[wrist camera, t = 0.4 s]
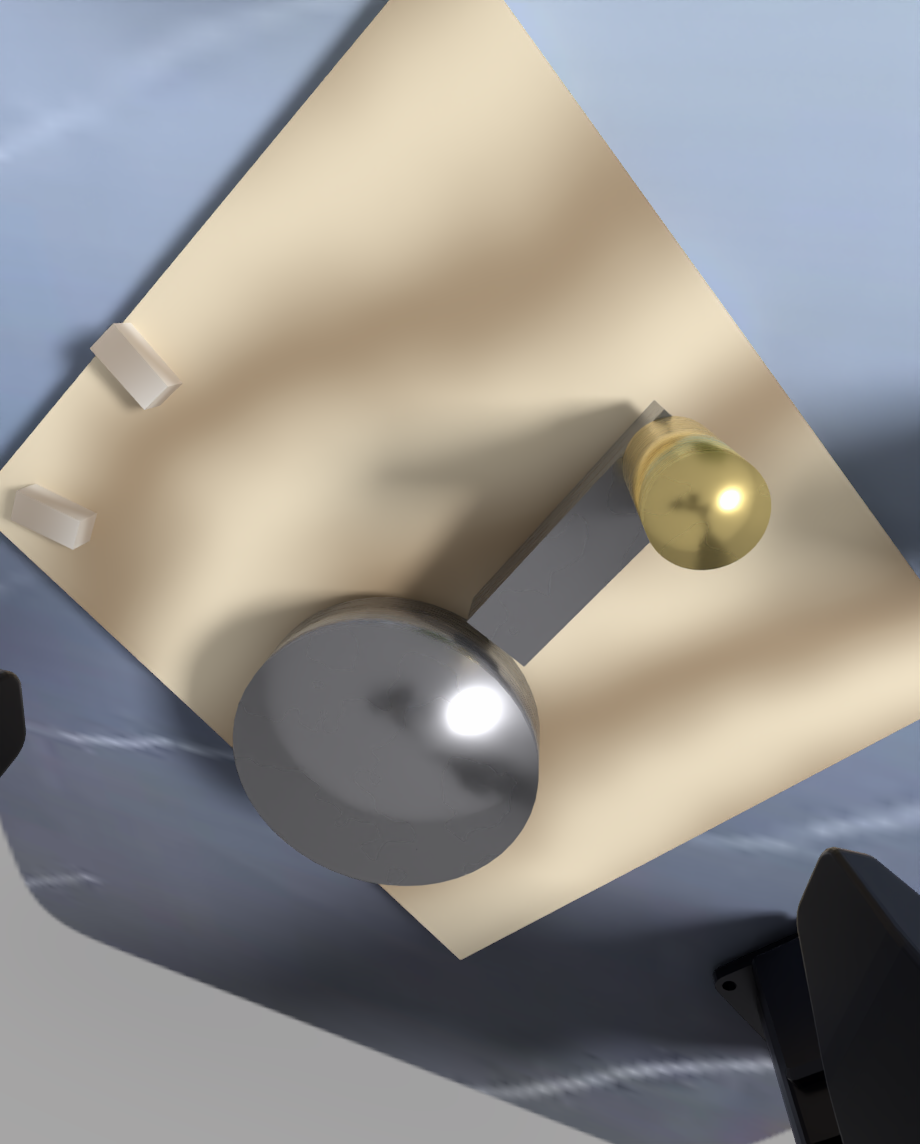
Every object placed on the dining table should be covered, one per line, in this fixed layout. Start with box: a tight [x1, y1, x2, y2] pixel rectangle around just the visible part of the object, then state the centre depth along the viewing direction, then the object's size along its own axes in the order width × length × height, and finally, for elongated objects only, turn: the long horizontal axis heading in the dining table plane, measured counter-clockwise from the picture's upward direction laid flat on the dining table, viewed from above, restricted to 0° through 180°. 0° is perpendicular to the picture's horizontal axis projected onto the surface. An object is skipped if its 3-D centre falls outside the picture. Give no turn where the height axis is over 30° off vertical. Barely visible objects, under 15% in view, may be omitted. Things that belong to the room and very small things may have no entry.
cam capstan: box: [233, 400, 771, 886], centre depth 17 cm, size 17×9×6 cm, turn 142°
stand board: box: [0, 0, 920, 960], centre depth 20 cm, size 23×20×2 cm
